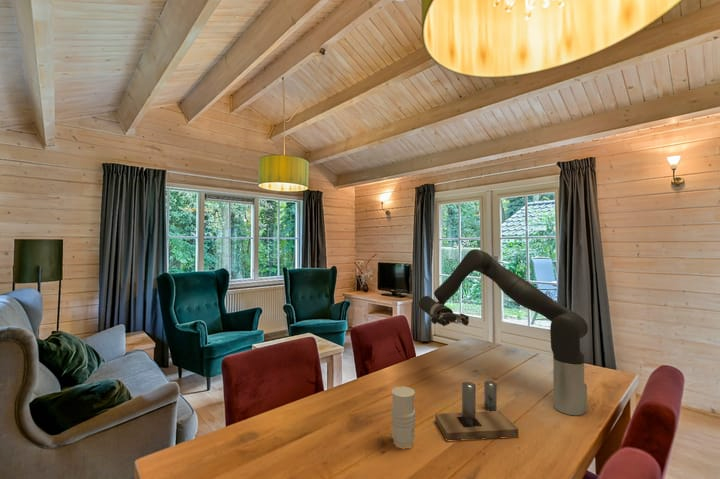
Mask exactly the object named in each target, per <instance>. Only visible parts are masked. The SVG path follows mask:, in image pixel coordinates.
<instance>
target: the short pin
mask: <svg viewBox="0 0 720 479" xmlns="http://www.w3.org/2000/svg"><path fill="white" fill-rule="evenodd" d="M483 383H484V384H483V385H484V386H483V387H484V388H483V389H484V391H483V392H484V393H483V394H484V403H483V404H484V407H483V408H484V410H485V411H487V410H489V411H498V410H497V402H498V400H497V397H498V396H497V395H498V394H497V391H498V390H497V389H498V388H497V386H498V385H497V382H495V381H492V380H485V381H484V382H483Z"/></svg>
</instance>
